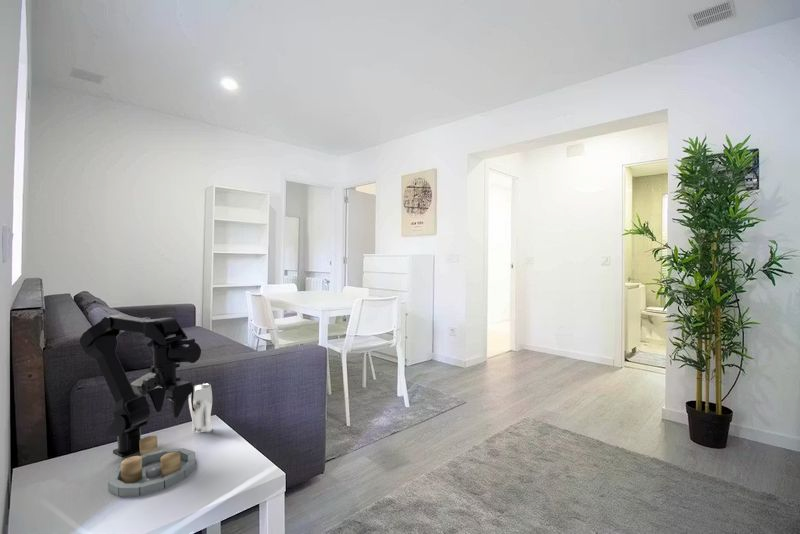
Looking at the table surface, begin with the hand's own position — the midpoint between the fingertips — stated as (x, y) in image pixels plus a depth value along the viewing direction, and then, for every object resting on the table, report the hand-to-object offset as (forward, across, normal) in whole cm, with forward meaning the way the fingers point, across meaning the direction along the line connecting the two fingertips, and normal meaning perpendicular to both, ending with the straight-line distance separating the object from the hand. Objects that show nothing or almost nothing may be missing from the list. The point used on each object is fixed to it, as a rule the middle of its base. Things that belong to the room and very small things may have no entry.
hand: (167, 414), depth 112 cm
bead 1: (+11, +6, -13) cm, 18 cm away
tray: (+12, +9, -8) cm, 17 cm away
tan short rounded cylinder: (+11, +14, -7) cm, 19 cm away
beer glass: (+12, -6, +14) cm, 20 cm away
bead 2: (+12, -5, -3) cm, 13 cm away
